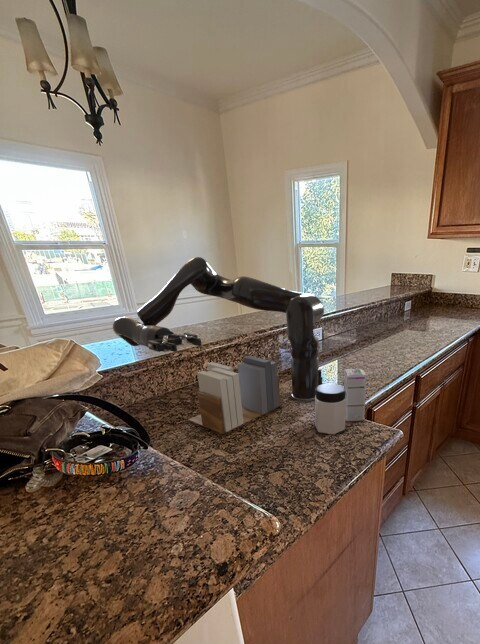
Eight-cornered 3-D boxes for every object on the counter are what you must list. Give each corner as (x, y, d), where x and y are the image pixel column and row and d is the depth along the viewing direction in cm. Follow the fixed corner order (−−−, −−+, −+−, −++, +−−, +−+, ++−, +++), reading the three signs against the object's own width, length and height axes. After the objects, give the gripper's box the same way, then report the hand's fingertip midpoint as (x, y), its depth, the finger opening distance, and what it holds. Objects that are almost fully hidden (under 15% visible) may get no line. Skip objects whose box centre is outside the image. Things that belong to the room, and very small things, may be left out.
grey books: (258, 399, 116) (254, 353, 110) (278, 406, 112) (276, 358, 105) (241, 407, 111) (236, 359, 104) (262, 414, 106) (258, 364, 99)
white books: (222, 415, 105) (216, 366, 99) (243, 423, 101) (238, 372, 94) (204, 423, 100) (196, 372, 94) (226, 432, 96) (219, 379, 89)
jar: (347, 433, 98) (349, 393, 92) (319, 436, 96) (319, 395, 91) (339, 419, 105) (341, 381, 100) (313, 421, 104) (312, 383, 99)
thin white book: (218, 408, 110) (212, 361, 103) (238, 415, 105) (233, 367, 99) (213, 410, 108) (206, 363, 102) (233, 418, 104) (227, 369, 97)
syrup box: (364, 420, 105) (367, 374, 99) (345, 421, 104) (346, 374, 98) (361, 412, 110) (363, 368, 104) (342, 413, 109) (344, 368, 103)
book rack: (248, 396, 121) (245, 366, 116) (281, 407, 113) (280, 375, 108) (188, 421, 103) (182, 387, 98) (222, 436, 95) (218, 399, 91)
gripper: (133, 329, 107) (164, 336, 98) (174, 322, 117) (206, 328, 109) (138, 354, 110) (169, 362, 102) (178, 345, 121) (209, 352, 112)
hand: (188, 345), depth 105 cm, fingers open, 8 cm apart
